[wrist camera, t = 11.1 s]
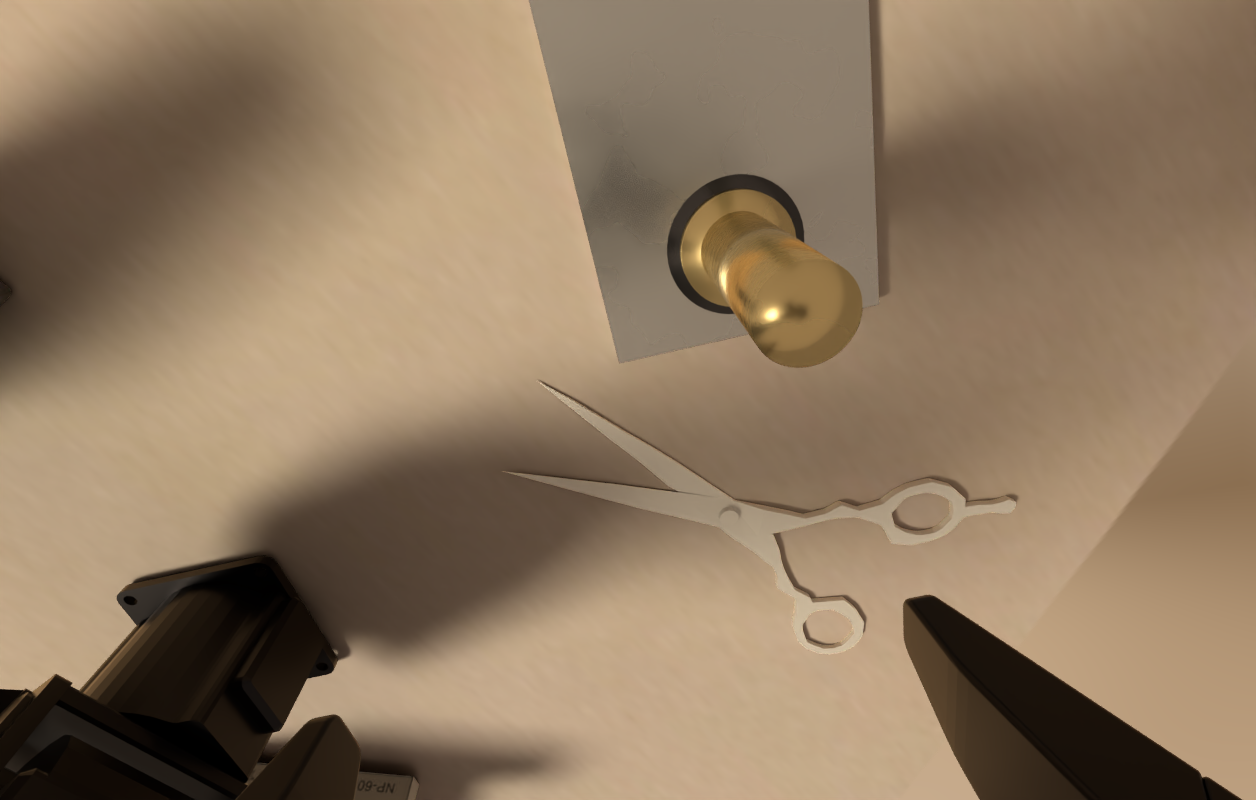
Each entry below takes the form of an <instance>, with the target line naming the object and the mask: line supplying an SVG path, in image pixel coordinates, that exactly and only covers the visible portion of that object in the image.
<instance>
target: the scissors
mask: <svg viewBox="0 0 1256 800" xmlns="http://www.w3.org/2000/svg"><path fill="white" fill-rule="evenodd" d="M536 381H537V380H536ZM539 383H540V382H539ZM540 384H541V385H543V386H544V387H545V388H546V389H548V390H549V391H550V392H551V393H553V394H554V395H555V396H556V397H557V398H559V399H560V400H561V401H562V402H564V403H565V404H566V405H567V406H569V407H570V408H571V409H572V410H574V411H575V412H576V413H577V414H579V415H580V416H581V417H582V418H584V419H585V420H586V421H587V422H589V423H590V424H591V425H592V426H593V427H595V428H596V429H597V430H598V431H600V432H601V433H602V434H603V435H605V436H606V437H607V438H608V439H610V440H611V441H612V442H614V443H615V444H616V445H617V446H619V447H620V448H621V449H623V450H624V451H625V452H627V453H628V454H629V455H631V456H632V457H633V458H635V459H636V460H637V461H639V462H640V463H641V464H642V465H643V466H645V467H646V468H647V469H648V470H649V471H651V472H652V473H653V474H654V475H655V476H657V477H658V478H659V479H660V480H661V481H662V482H664V483H665V484H666V485H667V486H669V487H670V488H672V489H674V490H676V491H677V492H672V491H664V490H656V489H649V488H641V487H634V486H626V485H619V484H610V483H601V482H593V481H584V480H575V479H566V478H558V477H549V476H540V475H532V474H523V473H514V472H506V471H502V472H506V473H510V474H513V475H517V476H521V477H524V478H528V479H532V480H535V481H539V482H543V483H546V484H550V485H554V486H557V487H561V488H565V489H568V490H572V491H576V492H579V493H583V494H587V495H590V496H594V497H598V498H601V499H605V500H609V501H613V502H616V503H620V504H624V505H628V506H632V507H635V508H639V509H643V510H647V511H652V512H656V513H660V514H664V515H669V516H673V517H677V518H681V519H686V520H690V521H694V522H698V523H702V524H707V525H711V526H715V527H719V528H720V529H721V530H722V531H723V532H725V533H726V534H727V535H728V536H729V537H731V538H733V539H734V540H736V541H737V542H739V543H740V544H742V545H743V546H745V547H746V548H748V549H749V550H751V551H752V552H754V553H755V554H756V555H757V556H759V557H760V558H761V559H762V560H763V561H765V562H766V563H767V564H769V565H770V566H771V567H773V568H774V570H775V572H776V587H777V589H779V590H780V591H782V592H784V593H786V594H788V595H789V596H791V597H793V598H794V613H793V617H792V626H793V629H794V632H795V634H796V637H797V640H798V642H799V643H800V644H801V645H802V646H803V647H804V648H805V649H807V650H810V651H813V652H815V653H818V654H827V655H828V654H835V653H840V652H843V651H847V650H849V649H851V648H852V647H853V646H855V645H856V644H857V642H858V641H859V640H860V638H861V637H862V636H863V628H864V621H863V619H862V618H861V616H860V615H859V613H858V611H857V610H856V608H855V607H854V605H852V604H851V603H850V602H849V601H847V600H846V599H845V598H844V597H842V596H837V597H824V598H810V596H809V594H808V593H806V592H804V591H802V590H800V589H798V588H796V587H794V586H793V584H792V583H791V581H790V579H789V577H788V576H787V574H786V571H785V569H784V567H783V564H782V561H781V555H780V550H779V547H778V545H777V542H776V540H775V537H774V535H773V534H774V533H778V532H783V531H787V530H791V529H795V528H800V527H804V526H808V525H812V524H816V523H819V522H823V521H827V520H832V519H837V518H860V519H863V520H866V521H869V522H872V523H875V524H878V525H880V526H881V527H882V528H883V530H884V531H885V533H886V535H887V537H888V539H889V540H890V542H891V543H892V544H900V545H916V544H921V543H926V542H929V541H932V540H935V539H938V538H941V537H943V536H945V535H946V534H948V533H949V532H951V531H952V530H953V529H954V528H955V527H956V526H957V525H958V524H959V523H960V522H961V520H962V519H963V518H964V517H969V516H974V515H980V514H985V513H991V512H994V513H997V514H1002V513H1011V512H1012V511H1013V510H1014V508H1015V506H1016V502H1015V501H1014V500H1013V499H1012V498H1010V497H1007V496H1003V497H1000V498H997V499H993V500H986V501H970V502H965V500H966V499H965V498H964V497H963V496H962V495H961V494H960V493H959V492H958V491H957V490H956V489H954V488H953V487H952V486H951V485H950V484H949V483H946V482H942V481H938V480H934V479H930V478H925V479H920V480H916V481H912V482H909V483H905V484H903V485H901V486H899V487H897V488H895V489H893V490H891V491H890V492H889V493H887V494H886V495H885V496H883V497H882V498H881V499H879V500H876V501H872V502H869V503H866V504H862V505H859V506H854V505H851V504H848V503H845V502H842V501H837V502H835V503H833V504H831V505H829V506H827V507H825V508H824V509H820V510H816V511H812V512H807V513H803V514H802V513H798V512H793V511H789V510H785V509H780V508H775V507H770V506H765V505H759V504H754V503H749V502H744V501H739V500H734V499H733V498H731V497H730V496H728V495H727V494H725V493H724V492H722V491H721V490H719V489H718V488H716V487H715V486H713V485H712V484H710V483H709V482H707V481H706V480H704V479H703V478H701V477H700V476H698V475H697V474H695V473H694V472H692V471H691V470H689V469H688V468H686V467H685V466H683V465H682V464H680V463H679V462H677V461H675V460H674V459H672V458H670V457H669V456H667V455H666V454H664V453H662V452H661V451H659V450H657V449H656V448H654V447H652V446H651V445H649V444H647V443H646V442H644V441H642V440H640V439H639V438H637V437H635V436H634V435H632V434H630V433H628V432H627V431H625V430H623V429H621V428H620V427H618V426H616V425H615V424H613V423H611V422H610V421H608V420H606V419H605V418H603V417H601V416H600V415H598V414H597V413H595V412H593V411H592V410H590V409H588V408H587V407H585V406H583V405H582V404H580V403H578V402H577V401H575V400H573V399H571V398H569V397H568V396H566V395H564V394H562V393H560V392H558V391H556V390H554V389H552V388H550V387H548V386H546V385H544V384H542V383H540ZM924 493H934V494H937V495H940V496H942V497H945V498H946V499H948V500H949V505H950V507H949V513H948V515H947V516H946V517H945V518H944V519H943V520H942V521H941V522H940V523H939V524H938V525H936V526H934V527H932V528H930V529H925V530H920V531H912V530H908V529H905V528H901V527H899V526H898V525H896V524H894V521H893V518H892V513H893V511H894V510H895V509H896V508H897V507H898V506H899V505H900V504H901V502H902V501H903V500H904V499H905V498H908V497H911V496H914V495H918V494H924ZM822 610H834V611H836V612H838V613H839V614H841V615H843V616H844V617H846V618H848V619H849V620H850V622H851V624H852V631H851V632H850V633H849V634H848V635H847V636H846V637H845V638H844V639H843V640H842V641H840V642H838V643H835V644H831V645H821V644H818V643H815V642H813V641H811V640H808V639H806V638H805V635H804V632H803V623H804V622H805V621H806V619H807V618H808V616H809V615H810V614H812V613H814V612H816V611H822Z"/></svg>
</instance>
